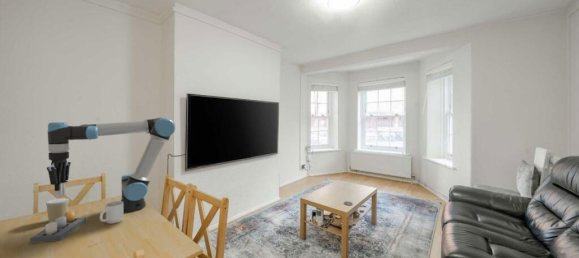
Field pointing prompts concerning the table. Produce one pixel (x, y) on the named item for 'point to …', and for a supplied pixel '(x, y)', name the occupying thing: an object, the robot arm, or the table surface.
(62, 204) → the coffee cup
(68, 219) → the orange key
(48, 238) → the panel
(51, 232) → the white rounded block
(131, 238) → the table surface
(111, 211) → the mug
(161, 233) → the table surface
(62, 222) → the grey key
